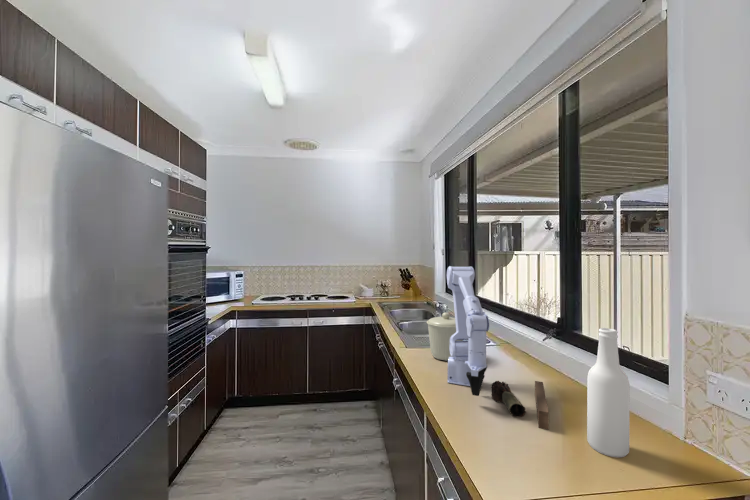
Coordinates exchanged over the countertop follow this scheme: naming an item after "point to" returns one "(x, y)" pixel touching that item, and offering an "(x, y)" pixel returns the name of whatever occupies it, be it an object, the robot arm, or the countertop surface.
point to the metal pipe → (507, 398)
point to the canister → (441, 335)
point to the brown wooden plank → (541, 406)
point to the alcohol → (608, 400)
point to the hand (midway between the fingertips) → (477, 390)
